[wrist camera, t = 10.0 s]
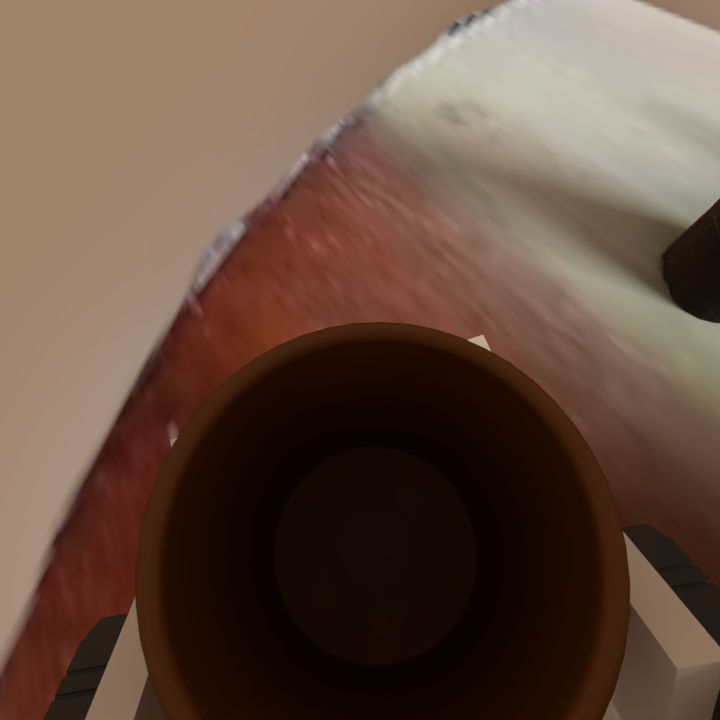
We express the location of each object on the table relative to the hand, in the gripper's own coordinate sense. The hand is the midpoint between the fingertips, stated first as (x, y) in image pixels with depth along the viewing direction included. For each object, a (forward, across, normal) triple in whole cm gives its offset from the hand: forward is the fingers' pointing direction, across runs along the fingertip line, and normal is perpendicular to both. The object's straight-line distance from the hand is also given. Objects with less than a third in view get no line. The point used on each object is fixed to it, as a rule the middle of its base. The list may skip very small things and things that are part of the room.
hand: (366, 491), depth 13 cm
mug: (0, -1, -5) cm, 5 cm away
